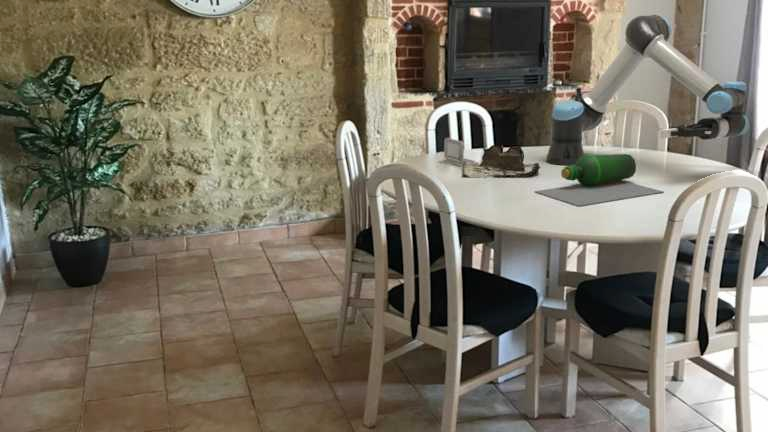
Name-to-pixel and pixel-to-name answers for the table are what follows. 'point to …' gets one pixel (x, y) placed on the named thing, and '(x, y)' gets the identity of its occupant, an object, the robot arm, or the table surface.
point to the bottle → (600, 169)
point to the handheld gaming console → (455, 153)
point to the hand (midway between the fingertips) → (661, 134)
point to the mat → (598, 193)
